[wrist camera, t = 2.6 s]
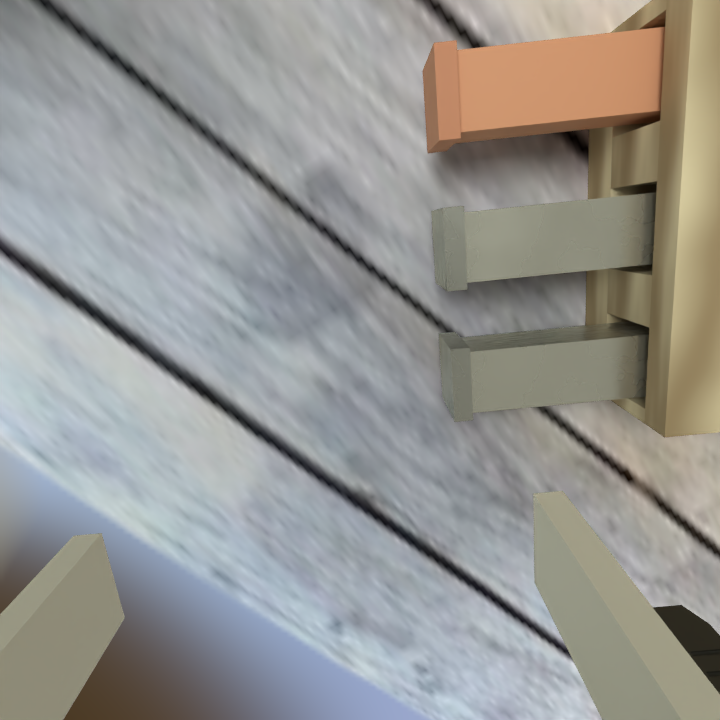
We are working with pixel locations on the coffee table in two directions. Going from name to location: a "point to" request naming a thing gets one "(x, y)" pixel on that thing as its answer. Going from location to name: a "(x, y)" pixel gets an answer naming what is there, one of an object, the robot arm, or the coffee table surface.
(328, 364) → the coffee table surface
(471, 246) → the grey plug middle
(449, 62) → the terracotta plug
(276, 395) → the coffee table surface
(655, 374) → the socket block
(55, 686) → the robot arm
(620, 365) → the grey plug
